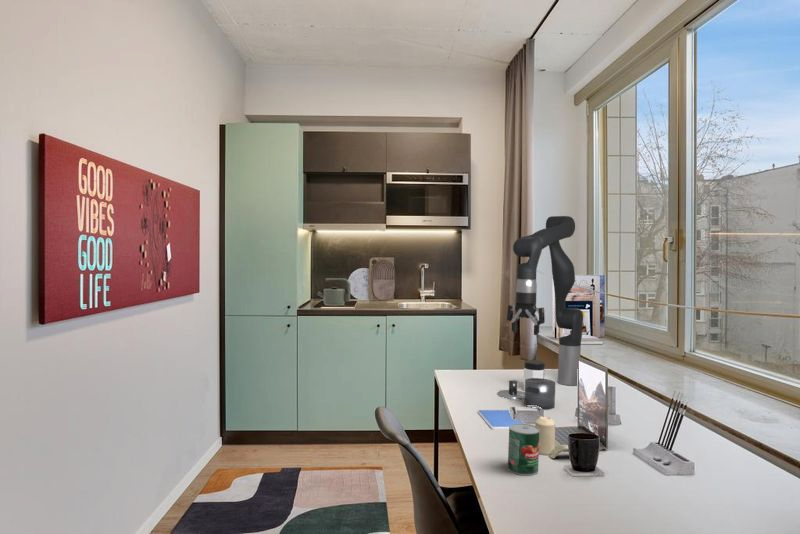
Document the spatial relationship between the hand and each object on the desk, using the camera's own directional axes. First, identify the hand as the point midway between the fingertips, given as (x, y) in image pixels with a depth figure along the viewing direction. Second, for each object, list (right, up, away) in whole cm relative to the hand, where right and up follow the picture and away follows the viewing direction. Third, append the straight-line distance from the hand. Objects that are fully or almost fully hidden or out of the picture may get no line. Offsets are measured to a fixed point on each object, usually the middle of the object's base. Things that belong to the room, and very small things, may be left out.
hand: (525, 333), depth 204 cm
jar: (+8, -26, +20) cm, 34 cm away
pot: (+5, -27, -2) cm, 27 cm away
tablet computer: (-13, -28, -21) cm, 37 cm away
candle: (-6, -28, -50) cm, 57 cm away
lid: (-2, -27, +11) cm, 29 cm away
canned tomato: (-15, -28, -63) cm, 70 cm away
